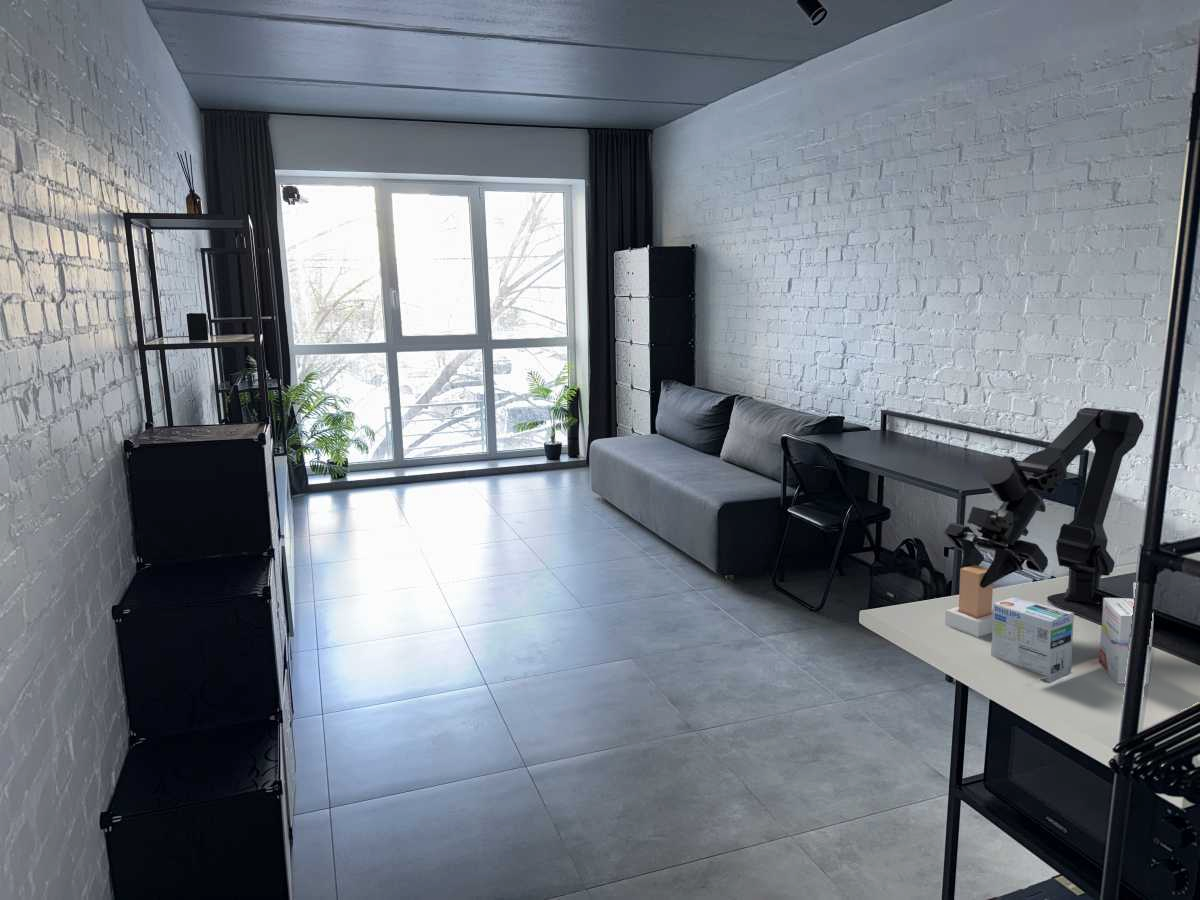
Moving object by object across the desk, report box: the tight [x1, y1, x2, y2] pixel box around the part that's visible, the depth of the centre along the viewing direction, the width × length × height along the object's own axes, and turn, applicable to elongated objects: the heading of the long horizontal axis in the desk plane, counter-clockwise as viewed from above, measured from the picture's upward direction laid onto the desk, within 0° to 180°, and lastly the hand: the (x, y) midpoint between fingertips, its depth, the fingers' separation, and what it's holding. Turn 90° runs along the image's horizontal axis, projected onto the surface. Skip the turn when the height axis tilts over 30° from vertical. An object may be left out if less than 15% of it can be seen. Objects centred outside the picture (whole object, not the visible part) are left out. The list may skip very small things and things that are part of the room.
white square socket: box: [944, 605, 993, 638], centre depth 160 cm, size 7×7×3 cm
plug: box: [958, 565, 994, 619], centre depth 159 cm, size 4×4×10 cm
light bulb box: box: [990, 595, 1075, 684], centre depth 144 cm, size 11×7×11 cm, turn 32°
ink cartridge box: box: [1098, 581, 1155, 686], centre depth 140 cm, size 9×5×15 cm, turn 168°
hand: (971, 583), depth 158 cm, fingers closed on plug, 4 cm apart
